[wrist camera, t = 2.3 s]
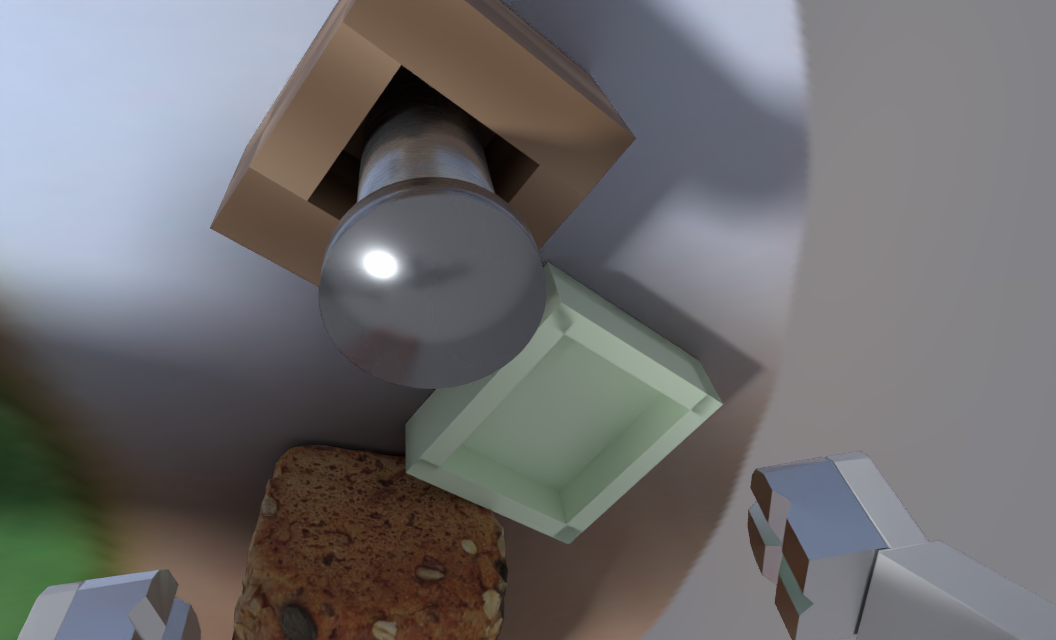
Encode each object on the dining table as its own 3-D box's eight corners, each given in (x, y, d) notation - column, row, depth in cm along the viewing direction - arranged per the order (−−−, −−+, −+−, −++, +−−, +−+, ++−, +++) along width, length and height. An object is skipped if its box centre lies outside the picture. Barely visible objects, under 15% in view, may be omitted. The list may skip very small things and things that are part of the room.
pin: (437, 213, 27) (459, 418, 18) (317, 137, 25) (274, 327, 16) (521, 106, 25) (592, 275, 16) (399, 14, 23) (404, 151, 14)
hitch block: (438, 263, 29) (447, 355, 24) (245, 147, 26) (209, 228, 21) (591, 75, 26) (635, 138, 21) (394, -87, 22) (393, -58, 18)
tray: (557, 496, 38) (568, 544, 35) (405, 424, 34) (405, 473, 31) (699, 360, 34) (723, 404, 31) (548, 261, 30) (561, 302, 27)
